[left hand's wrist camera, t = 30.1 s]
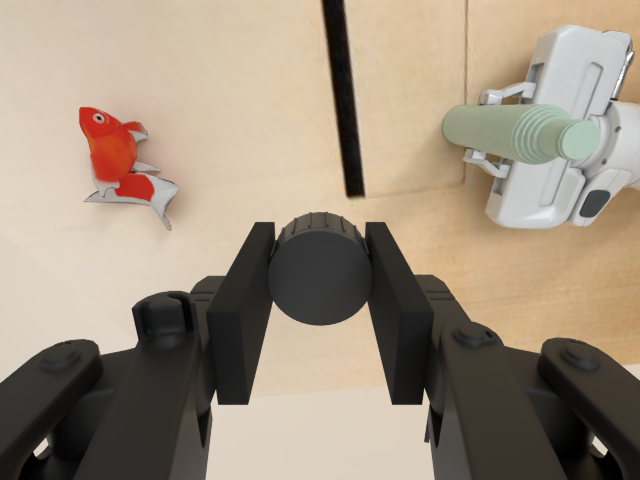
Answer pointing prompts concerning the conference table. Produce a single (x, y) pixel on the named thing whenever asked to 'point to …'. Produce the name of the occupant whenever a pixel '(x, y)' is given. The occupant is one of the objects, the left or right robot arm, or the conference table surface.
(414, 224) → the conference table surface
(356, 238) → the cap
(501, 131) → the bottle
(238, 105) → the conference table surface
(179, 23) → the conference table surface
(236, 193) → the conference table surface
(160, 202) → the fish
